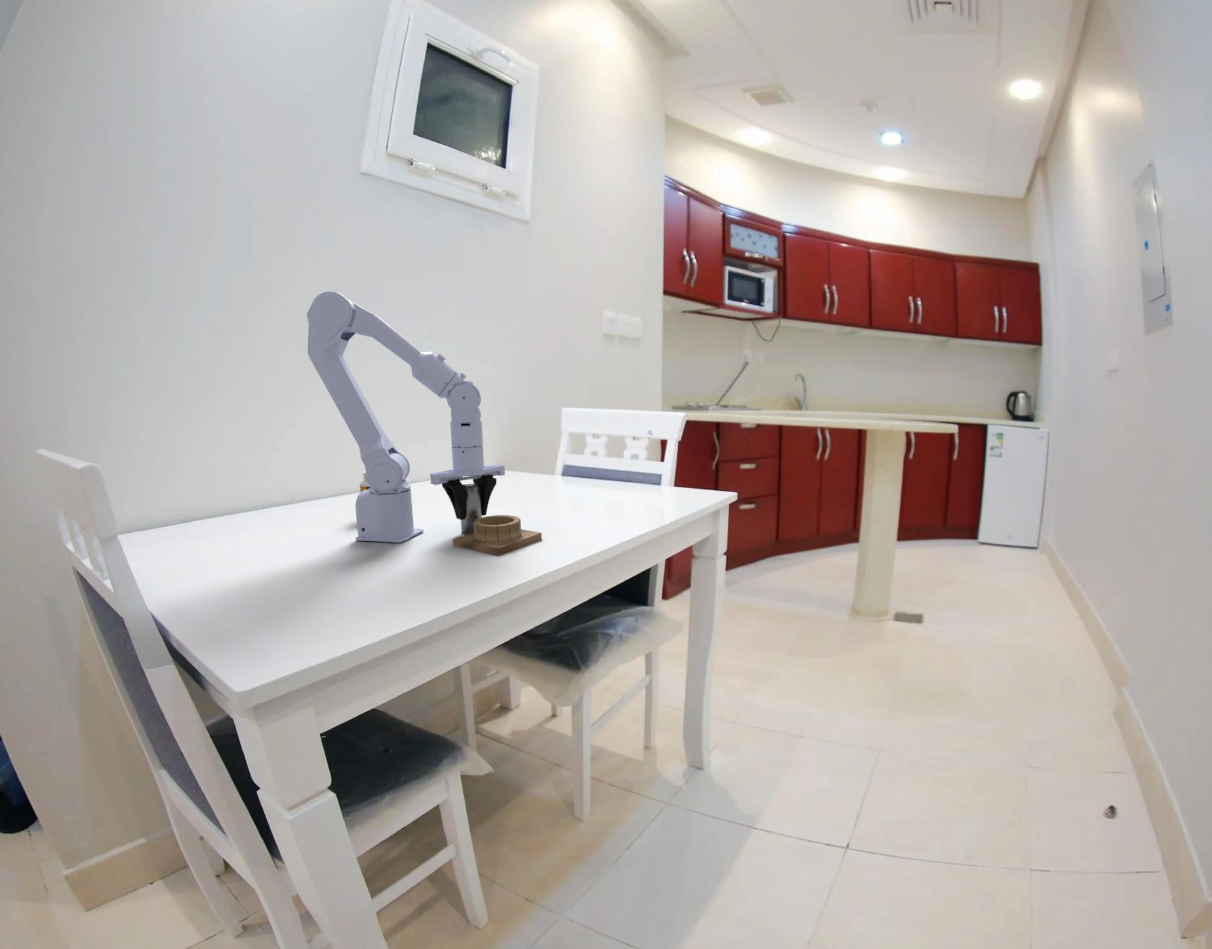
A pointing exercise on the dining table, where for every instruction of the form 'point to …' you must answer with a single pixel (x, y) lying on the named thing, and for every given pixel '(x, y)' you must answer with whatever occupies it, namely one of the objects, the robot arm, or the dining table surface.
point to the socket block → (497, 535)
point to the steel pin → (471, 507)
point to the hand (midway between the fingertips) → (471, 516)
